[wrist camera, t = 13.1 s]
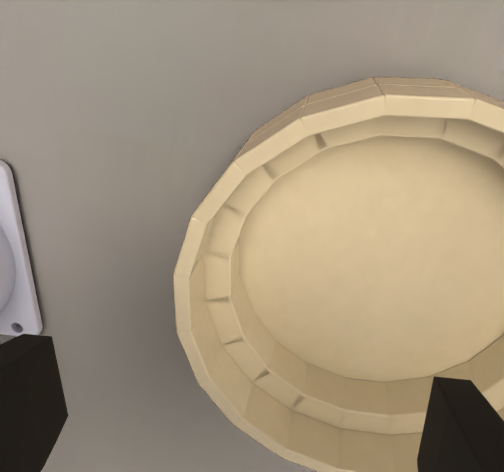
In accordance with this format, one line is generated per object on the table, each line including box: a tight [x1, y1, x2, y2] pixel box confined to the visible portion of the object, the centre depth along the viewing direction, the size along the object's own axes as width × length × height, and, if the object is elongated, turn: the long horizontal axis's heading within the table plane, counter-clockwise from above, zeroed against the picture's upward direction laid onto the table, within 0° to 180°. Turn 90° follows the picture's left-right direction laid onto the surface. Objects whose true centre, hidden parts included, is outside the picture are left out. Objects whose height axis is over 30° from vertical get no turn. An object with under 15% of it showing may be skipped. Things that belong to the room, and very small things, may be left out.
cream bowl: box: [173, 77, 504, 472], centre depth 16 cm, size 13×13×4 cm
